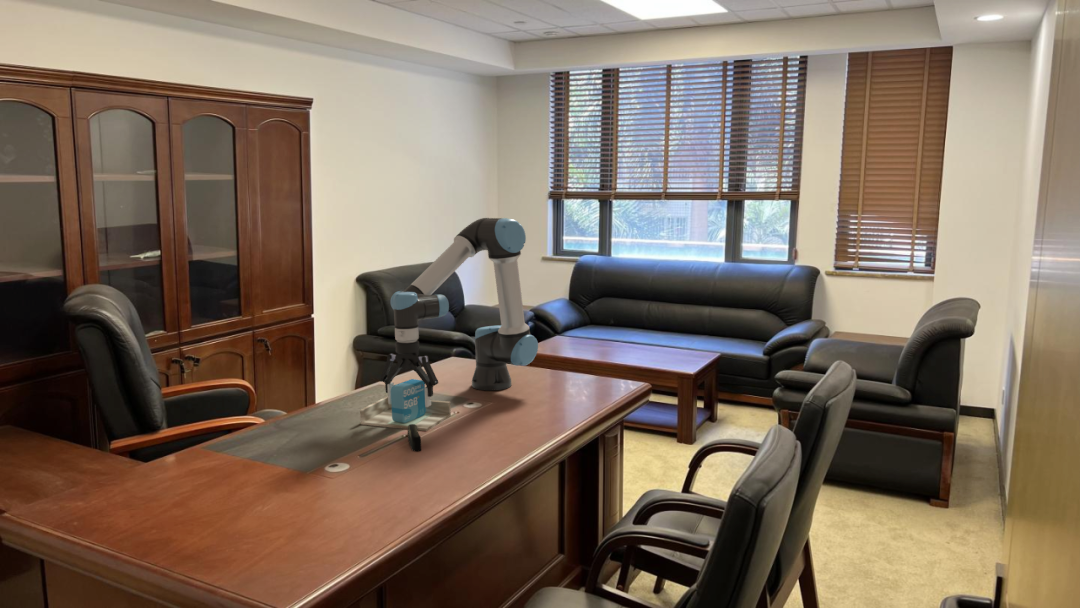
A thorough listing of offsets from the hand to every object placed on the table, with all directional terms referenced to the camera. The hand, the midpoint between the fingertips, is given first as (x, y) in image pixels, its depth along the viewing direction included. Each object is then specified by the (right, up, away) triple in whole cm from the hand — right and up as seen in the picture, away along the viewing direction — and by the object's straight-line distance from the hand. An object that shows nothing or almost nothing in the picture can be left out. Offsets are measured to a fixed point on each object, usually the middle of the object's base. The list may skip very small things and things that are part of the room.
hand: (409, 404), depth 252 cm
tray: (-1, -5, +2) cm, 6 cm away
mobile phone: (+5, -9, -21) cm, 24 cm away
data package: (0, -5, +1) cm, 5 cm away
